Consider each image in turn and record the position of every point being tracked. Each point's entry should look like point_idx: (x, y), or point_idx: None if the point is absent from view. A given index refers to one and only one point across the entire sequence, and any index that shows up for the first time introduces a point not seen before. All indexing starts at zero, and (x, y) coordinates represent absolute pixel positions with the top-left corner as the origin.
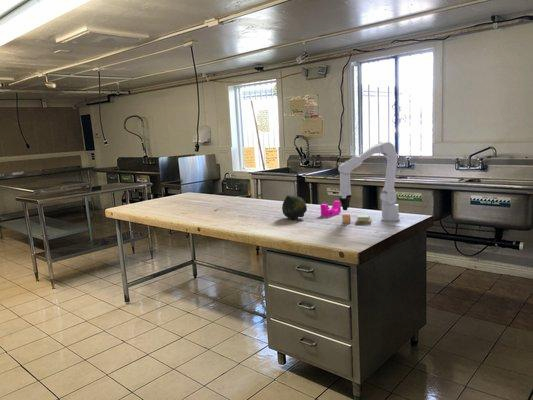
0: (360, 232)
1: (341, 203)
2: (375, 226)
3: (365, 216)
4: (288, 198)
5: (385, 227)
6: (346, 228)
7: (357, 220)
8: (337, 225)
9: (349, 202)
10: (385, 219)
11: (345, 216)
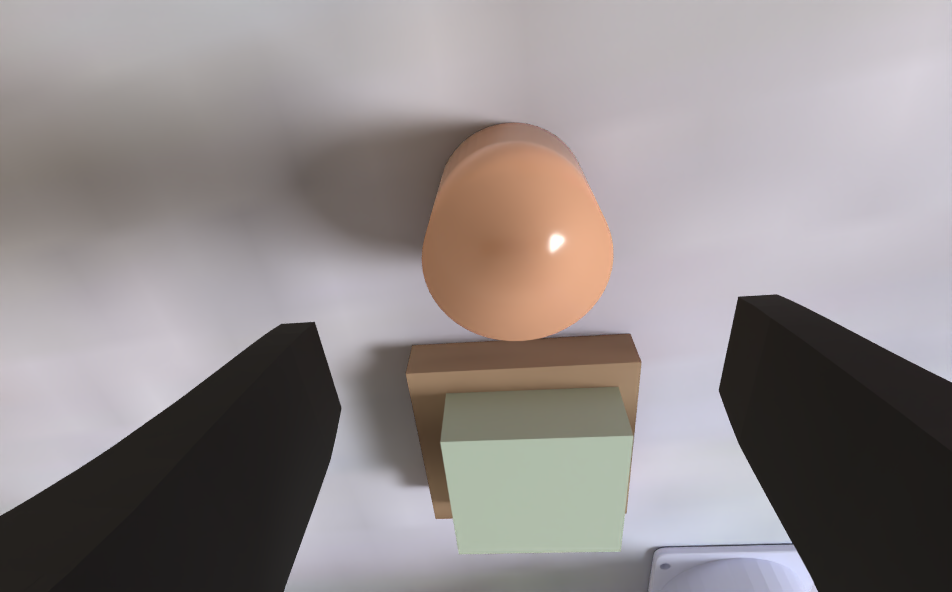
0: (41, 443)
1: (28, 502)
2: (363, 527)
3: (499, 523)
4: None
5: (347, 587)
6: (131, 271)
7: (485, 387)
8: (261, 74)
9: (817, 563)
10: (667, 583)
11: (423, 257)
